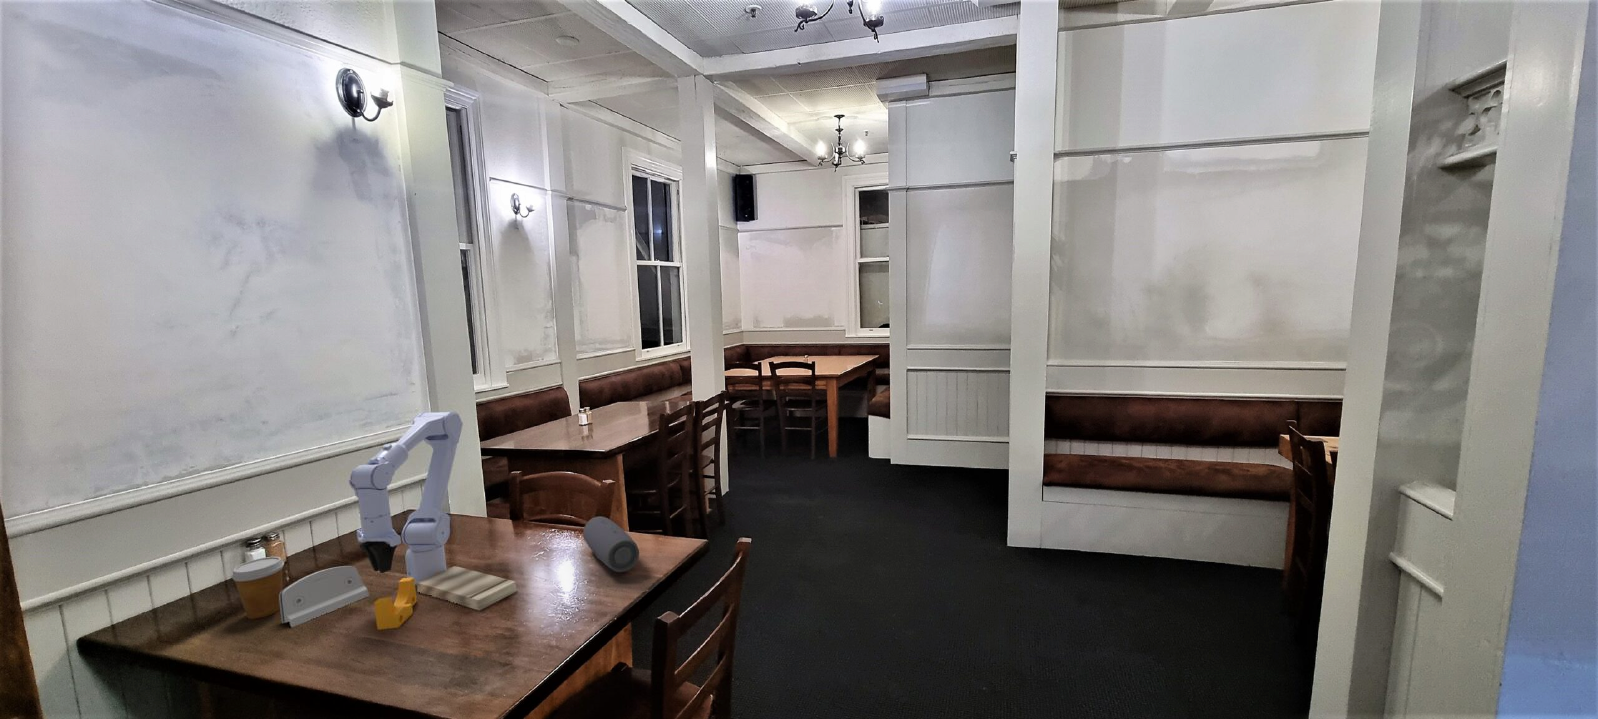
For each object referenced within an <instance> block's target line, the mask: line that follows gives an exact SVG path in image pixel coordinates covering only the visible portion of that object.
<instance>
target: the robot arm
mask: <svg viewBox="0 0 1598 719" xmlns="http://www.w3.org/2000/svg"><path fill="white" fill-rule="evenodd" d="M462 429H463V421H462V419H461V416H460V415H459V413H458V412H457V411H454V410H453V411H452V410H451V411H442V412H440V411H439V412H438V411H437V412H426V411H424V412H420V413H419V414H417V416H416V417H415V418H413V419H412V425H411V426H410V427H409V429H407V431H406V432H405V433H404V434H403V435H402V436H401V437H400V438H399V440H398V441H397V442H395V443H394V442H393V443H388V444H386V443H385V444H384V445H383V446H382V448H381V450H380V451H378V452H377V453H376V454H375V455H374V456H373V457H371V458H370V459H369V461H367V462H366V464H360V465H358V466H357V467H356V468H354V469H353V470H352V471H351V473H350V477H349V480H348V483H349V484H348V485H349V486H350V488H351V489H352V490H353V491H354V495H355V497H356V498H358V506H359V507H358V508H359V514H360V520H361V528H360V529H357V530H356V537H357V541H358V542H359V543H360V544H359V548H361V550H362V551H363V552H364V553H365V555H366V556H367V559H368V560H369V562H370V565H371V567H372V569H373V571H374V572H378V571H379V573H380V574H383V573H386V572H389V571H391V569H392V565H393V559H394V554H395V551H396V549H397V547H398V546H399V545H400V544H402V543H403V544H404V545H405V546H407V547H408V549H407V550H406V553H405V554H404V555H405V557H404V559H405V567H406V574H407V577H406V578H411V577H414V581H415V586H417V582H419V581H421V580H423V579H426V578H428V577H430V576H433V575H435V574H437V573H440V572H442V571H444V570H447V569H448V568H447V564H446V563H447V562H446V561H447V560H446V554H445V552H446V551H445V544H446V543H447V541H448V540H449V538H450V534H451V528H450V524H451V516H450V515H449V514H448V513H447V512H445V511H444V510H443V509H444V503H445V500H446V496H447V492H448V487H449V482H450V478H451V474H452V470H453V469H452V468H453V464H454V459H455V455H456V451H457V449H458V448H457V447H458V444H459V441H460V437H461V434H462ZM422 441H424V442H425V443H426V444H427V446H431V448H432V449H433V450H432V454H431V458H430V462H429V466H428V470H427V475H426V479H425V481H424V482H425V483H424V485H423V486H424V487H423V491H422V495H421V499H420V504H419V507H418V508H417V509H416V510H415V511H413V512H412V513H410V514H409V515H408V517H407V521H406V523H405V524H404V526H403V529H402V531H401V534H400V535H399V534H398V533H397V532H396V531H395V530H394V528H393V523H392V514H391V506H390V500H389V490H388V487H389V486H390V484H391V483H392V480H393V476H395V473H396V471H397V470H398V469H399V468H400V467H401V466H402V465H404V464H405V462H407V460H408V459H409V452H410V451H411V450H413V449H414V448H415V447H416V446H418V444H420V443H421V442H422Z"/></svg>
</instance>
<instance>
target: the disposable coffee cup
mask: <svg viewBox="0 0 1598 719" xmlns="http://www.w3.org/2000/svg"><path fill="white" fill-rule="evenodd" d="M284 565H285V561H283V560H282V558H281V557H280V556H267V557H260V558H256V559H252V560H249V561H246V562H243V563H242V564H239V565H237V566H235V567H234V568H233V570H232V574H231V576H230V577H231V579H233V581H234V582H235V585H236V589H237V592H238V595H239V597H240V599H241V603H242V606H243V609H244V611H245V614H246V617H247V619H249V620H250V619H252V620H254V619H261V618H264V617H265V618H266V617H269V616H270V615H273V614H276V613H277V612H278V611H281V610H280V602H279V594H280V592H281V591H282V590H283V568H284Z"/></svg>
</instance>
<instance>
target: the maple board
mask: <svg viewBox="0 0 1598 719" xmlns="http://www.w3.org/2000/svg"><path fill="white" fill-rule="evenodd" d="M446 569H447V570H444V571H442V572H440V573H437V574H435V575H433V576H430V577H428V578H426V579H423V580H421V581H419V582H417V585H416V589H417V590H416V592H417V593H419V592H420V594H423V595H426V594H427V596H429V595H432V596H431V597H432V598H436V597H438V598H437V599H439V598H440V599H439V600H443V599H444V601H446V600H448V601H447V602H449V601H450V603H453V602H454V603H453V604H456V603H458V604H457V605H459V604H460V606H463V607H467V608H469V609H473V610H476V611H481V610H483V609H485V608H487V607H489V606H491V605H493V604H495V603H497V602H499V601H500V600H502V599H505V598H506V597H508V596H510V595H512V594H515V593H516V592H517V582H516V580H511V579H509V578H503V577H499V576H495V575H492V574H487V573H485V572H480V571H476V570H472V569H468V568H464V567H461V566H460V567H459V566H455V565H453V566H451V567H449V568H446Z"/></svg>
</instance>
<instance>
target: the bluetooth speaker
mask: <svg viewBox="0 0 1598 719" xmlns="http://www.w3.org/2000/svg"><path fill="white" fill-rule="evenodd" d="M582 533H583V539H584V542H586V544H587V545H588V548H590V550H591V552H592V553H593V555H595V557H596V558H597V559H598V560H600V561H601V562H602V563H603V564H604V565H605V566H606V567H608V568H609V569H611V571H614V572H616V573H617V572H618V573H623V572H627V571H629V570H631V569H633V567H635V565H636V564H637V562H638V561H639V557H640V549H639V547H638V545H637V543H636V541H635V540H634V539H633V537H631V536H630V535H629V533H628V532H626V531H625V530H624V529H623V528H622V527H620V526H619V525H618V524H617V523H615V522H614V521H612V520H611V519H610V518H607V517H604V516H599V515H598V516H595V517H592V518H591V519H589V520H588V521H587V523H586V524H585V525H584V528H583V530H582Z"/></svg>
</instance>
